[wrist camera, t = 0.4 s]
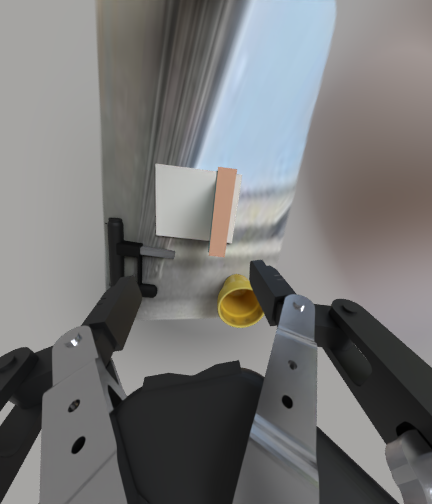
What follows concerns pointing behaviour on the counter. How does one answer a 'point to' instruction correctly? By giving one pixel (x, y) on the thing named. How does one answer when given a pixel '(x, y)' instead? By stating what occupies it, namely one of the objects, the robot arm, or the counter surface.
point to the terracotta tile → (221, 210)
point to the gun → (133, 249)
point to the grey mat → (188, 202)
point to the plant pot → (238, 303)
